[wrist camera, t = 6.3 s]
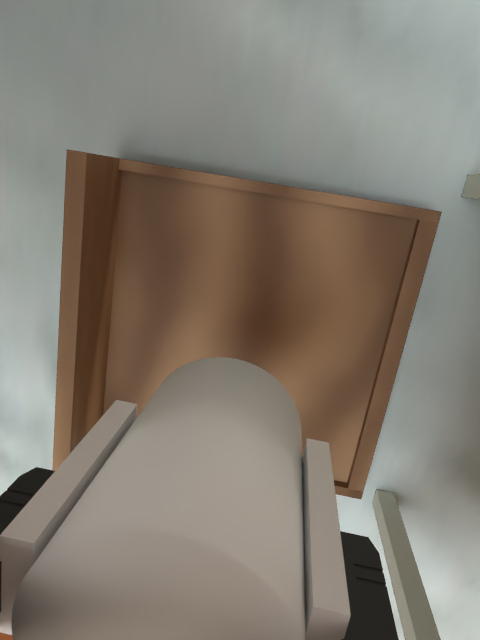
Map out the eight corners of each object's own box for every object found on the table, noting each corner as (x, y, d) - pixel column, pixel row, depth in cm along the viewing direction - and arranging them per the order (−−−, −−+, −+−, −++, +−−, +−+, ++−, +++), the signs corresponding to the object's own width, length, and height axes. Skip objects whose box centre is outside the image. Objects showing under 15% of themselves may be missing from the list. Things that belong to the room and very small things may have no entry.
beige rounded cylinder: (140, 479, 19) (8, 722, 10) (156, 342, 17) (14, 497, 8) (285, 511, 18) (274, 792, 10) (316, 374, 17) (337, 570, 8)
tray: (94, 427, 33) (52, 477, 27) (114, 157, 28) (66, 149, 22) (357, 482, 32) (371, 547, 26) (432, 210, 26) (469, 216, 21)
